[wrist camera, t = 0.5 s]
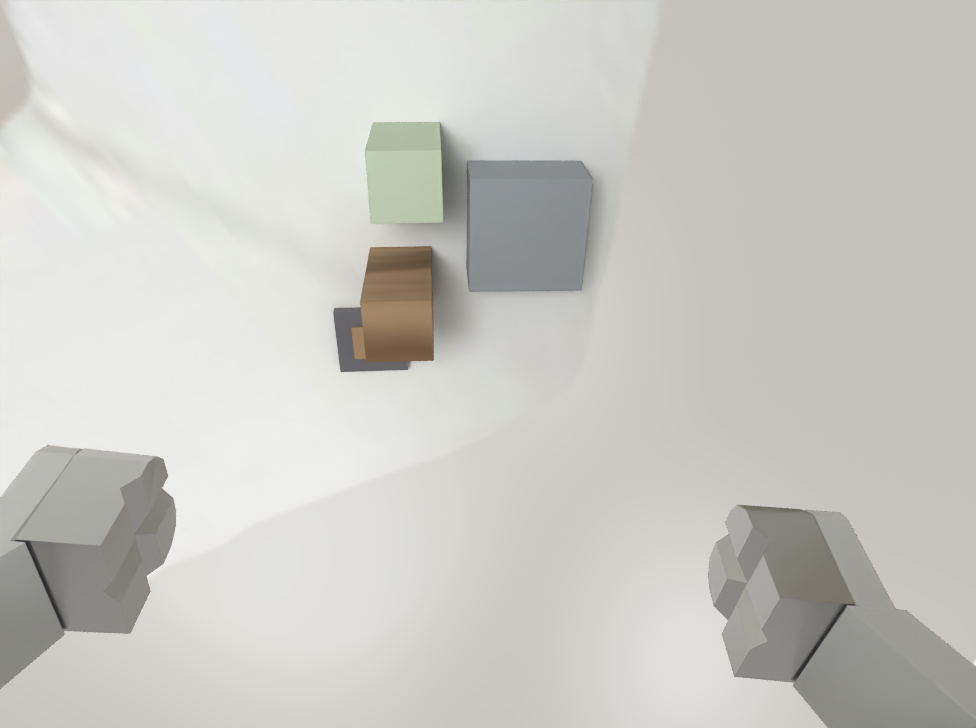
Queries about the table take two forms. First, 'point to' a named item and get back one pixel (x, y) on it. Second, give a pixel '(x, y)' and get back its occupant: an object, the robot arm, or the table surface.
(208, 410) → the table surface
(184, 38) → the table surface
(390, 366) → the card
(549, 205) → the slate base block
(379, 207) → the sage green block
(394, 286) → the walnut block
